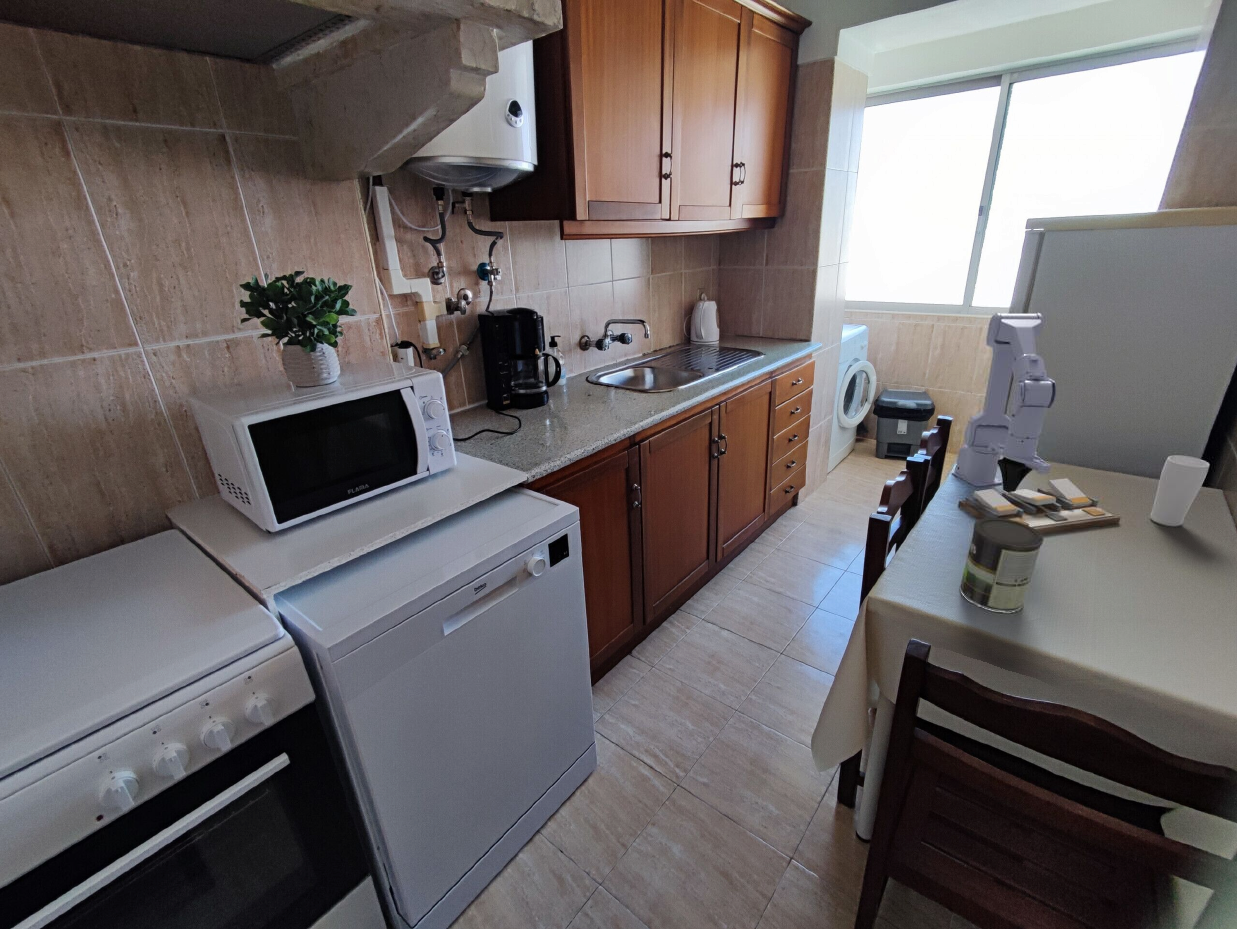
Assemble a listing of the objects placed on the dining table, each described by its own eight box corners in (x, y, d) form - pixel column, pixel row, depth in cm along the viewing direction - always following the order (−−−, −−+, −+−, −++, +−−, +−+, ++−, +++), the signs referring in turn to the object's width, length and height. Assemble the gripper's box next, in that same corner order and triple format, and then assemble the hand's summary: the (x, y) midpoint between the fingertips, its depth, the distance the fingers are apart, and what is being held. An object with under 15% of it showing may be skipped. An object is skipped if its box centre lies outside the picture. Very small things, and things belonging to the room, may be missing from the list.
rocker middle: (1007, 496, 136) (1008, 490, 136) (1025, 493, 137) (1026, 488, 137) (1036, 505, 129) (1037, 499, 128) (1055, 502, 129) (1056, 497, 129)
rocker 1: (972, 495, 134) (974, 490, 134) (991, 492, 135) (993, 488, 134) (997, 516, 128) (999, 511, 127) (1016, 513, 129) (1018, 508, 128)
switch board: (957, 506, 138) (960, 494, 136) (1056, 493, 142) (1059, 482, 140) (1010, 538, 123) (1014, 526, 122) (1118, 522, 127) (1123, 510, 126)
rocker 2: (1046, 483, 137) (1049, 480, 136) (1064, 481, 138) (1067, 477, 137) (1070, 508, 131) (1074, 504, 130) (1089, 505, 132) (1092, 501, 131)
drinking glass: (1150, 525, 125) (1173, 464, 120) (1141, 512, 131) (1162, 453, 125) (1190, 531, 122) (1215, 468, 117) (1179, 518, 128) (1203, 457, 122)
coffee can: (954, 600, 104) (969, 534, 99) (964, 574, 111) (979, 512, 106) (1020, 621, 98) (1040, 552, 92) (1027, 593, 105) (1046, 527, 100)
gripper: (1069, 444, 116) (1052, 502, 121) (1012, 422, 129) (999, 475, 134) (1039, 447, 115) (1023, 506, 120) (985, 425, 128) (973, 479, 133)
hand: (1009, 490), depth 127 cm, fingers closed
